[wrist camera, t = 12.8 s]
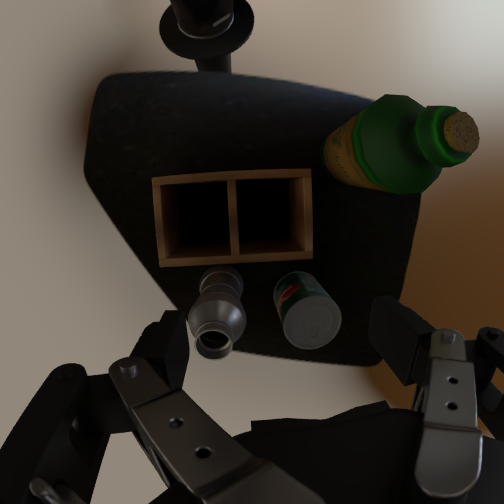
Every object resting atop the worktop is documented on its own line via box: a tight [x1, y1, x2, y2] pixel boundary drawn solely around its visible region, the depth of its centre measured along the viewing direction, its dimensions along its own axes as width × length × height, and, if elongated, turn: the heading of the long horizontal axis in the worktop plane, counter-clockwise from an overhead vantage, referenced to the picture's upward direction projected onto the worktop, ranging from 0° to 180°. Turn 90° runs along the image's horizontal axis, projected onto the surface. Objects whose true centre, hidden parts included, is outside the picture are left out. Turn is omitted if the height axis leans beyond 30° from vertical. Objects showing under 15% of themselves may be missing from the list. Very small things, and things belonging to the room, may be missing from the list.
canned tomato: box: [274, 271, 341, 349], centre depth 42 cm, size 8×8×11 cm
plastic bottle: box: [188, 265, 246, 361], centre depth 36 cm, size 6×7×20 cm
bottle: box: [318, 94, 479, 194], centre depth 29 cm, size 11×11×28 cm
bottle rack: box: [152, 169, 313, 267], centre depth 39 cm, size 11×19×10 cm, turn 93°
